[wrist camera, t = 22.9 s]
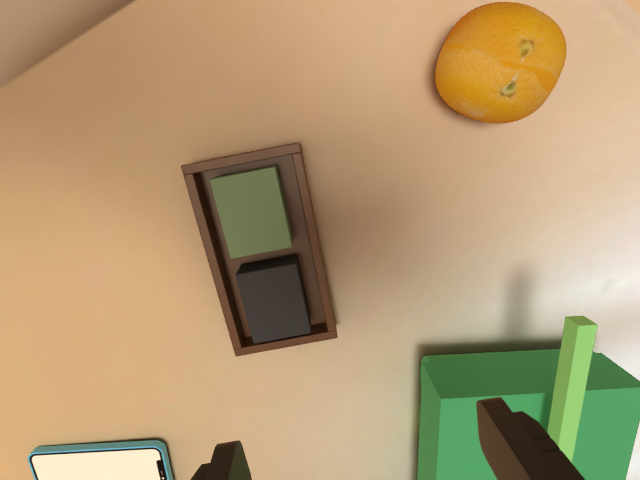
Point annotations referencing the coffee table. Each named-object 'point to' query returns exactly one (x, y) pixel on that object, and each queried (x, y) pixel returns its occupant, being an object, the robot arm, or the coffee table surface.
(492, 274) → the coffee table surface
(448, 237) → the coffee table surface
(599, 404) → the toy tank
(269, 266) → the charcoal block
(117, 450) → the smartphone
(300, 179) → the brown wooden tray
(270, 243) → the sage pad
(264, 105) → the coffee table surface
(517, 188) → the coffee table surface
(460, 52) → the fruit
